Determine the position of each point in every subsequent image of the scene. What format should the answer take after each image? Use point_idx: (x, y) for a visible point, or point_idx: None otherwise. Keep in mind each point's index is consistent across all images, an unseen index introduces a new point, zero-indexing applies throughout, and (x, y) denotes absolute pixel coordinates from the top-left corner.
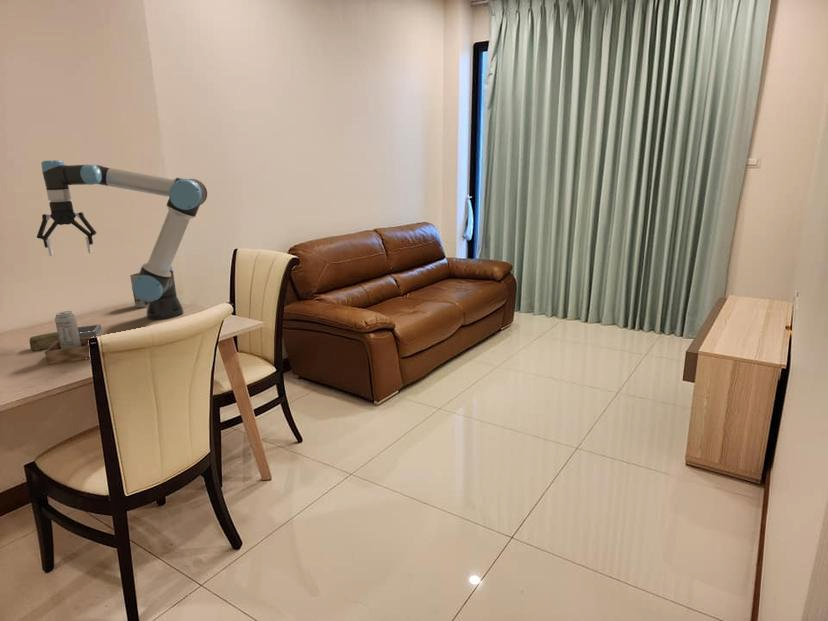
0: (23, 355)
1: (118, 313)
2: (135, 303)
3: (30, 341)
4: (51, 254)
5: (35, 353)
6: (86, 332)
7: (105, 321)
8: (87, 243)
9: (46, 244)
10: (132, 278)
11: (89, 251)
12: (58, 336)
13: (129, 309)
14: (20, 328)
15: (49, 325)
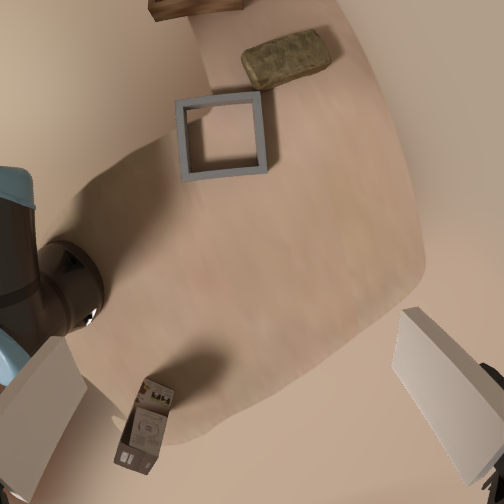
0: (319, 23)
1: (197, 352)
2: (170, 396)
3: (318, 35)
4: (410, 316)
5: (297, 24)
6: (198, 97)
7: (205, 280)
8: (8, 398)
9: (492, 390)
10: (153, 446)
11: (49, 344)
12: (256, 46)
13: (182, 378)
14: (406, 286)
15: (350, 292)
